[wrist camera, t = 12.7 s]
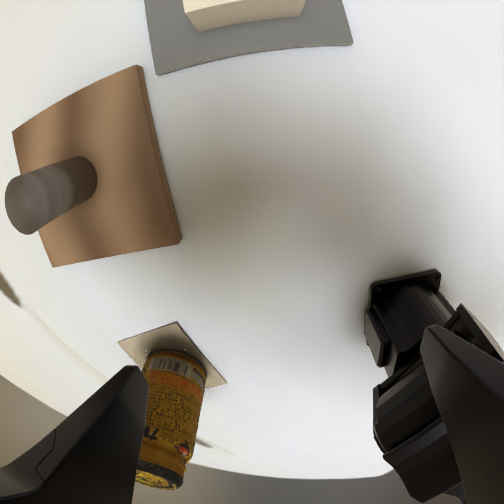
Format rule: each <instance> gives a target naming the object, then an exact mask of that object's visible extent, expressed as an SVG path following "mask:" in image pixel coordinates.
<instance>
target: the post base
mask: <svg viewBox="0 0 504 504" xmlns="http://www.w3.org/2000/svg"><path fill="white" fill-rule="evenodd" d="M12 135H13V141H14V146H15V151H16V156H17V160H18V165H19V169H20V173H21V175H20V176H17V177H15V178H13V179H12V180H11V181H10V182H9V184H8V186H7V188H6V192H5V207H6V211H7V215H8V217H9V219H10V221H11V223H12V225H13V226H14V227H15V228H16V229H17V230H18V231H19V232H21V233H23V234H26V235H29V234H32V233H34V232H36V231H37V230H38V232H39V235H40V237H41V240H42V243H43V245H44V248H45V250H46V253H47V255H48V258H49V260H50V262H51V265H52V267H58V266H63V265H68V264H73V263H79V262H84V261H89V260H94V259H99V258H105V257H110V256H115V255H120V254H126V253H131V252H137V251H142V250H148V249H153V248H159V247H165V246H170V245H176V244H179V242H180V241H181V239H182V236H181V232H180V229H179V225H178V222H177V218H176V215H175V211H174V207H173V204H172V200H171V196H170V192H169V188H168V184H167V180H166V176H165V172H164V168H163V164H162V160H161V156H160V152H159V147H158V143H157V139H156V134H155V130H154V125H153V120H152V116H151V111H150V106H149V101H148V96H147V90H146V85H145V80H144V74H143V68H142V67H141V66H138V65H134V66H132V67H129V68H127V69H124V70H122V71H119V72H117V73H115V74H112V75H110V76H108V77H106V78H103V79H101V80H99V81H97V82H95V83H93V84H91V85H89V86H87V87H85V88H83V89H81V90H79V91H77V92H75V93H73V94H71V95H69V96H67V97H66V98H64V99H62V100H60V101H59V102H57V103H55V104H53V105H52V106H50V107H48V108H47V109H45V110H44V111H42V112H40V113H39V114H37V115H36V116H34V117H33V118H31V119H30V120H28V121H27V122H25V123H24V124H22V125H21V126H19V127H18V128H17V129H15V130H14V131H12Z"/></svg>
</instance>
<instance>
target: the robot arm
mask: <svg viewBox="0 0 504 504" xmlns="http://www.w3.org/2000/svg"><path fill="white" fill-rule="evenodd" d="M435 275H436V277H435ZM440 280H441V273H440V272H439V271H438V270H431V271H427V272H422V273H418V274H413V275H408V276H403V277H399V278H394V279H389V280H384V281H378V282H375V283H373V284H372V285H371V286H370V292H369V308H367V309H366V311H365V325H364V335H365V337H366V342H367V345H368V346H369V347H370V349H371V352H372V354H373V357H374V360H375V362H376V365H377V366H378V367H379V368H381V367H385V370H386V372H387V375H388V377H389V378H387V379H386V380H385V381H384V382H383V383H381V384H378V385H377V386H376V387H375V388H373V433H374V439H375V441H376V442H377V445H378V446H379V448H380V450H381V451H382V452H383V453H384V454H383V459H384V460H385V461H386V462H388V463H389V464H390V465H391V466H392V467H393V468H394V469H395V470H396V472H397V473H398V474H399V476H400V477H401V479H402V481H403V482H404V484H405V486H406V488H407V490H408V492H409V494H410V496H411V497H413V498H414V499H416V500H417V501H419V502H421V503H425V502H427V501H429V500H431V499H433V498H435V497H437V496H439V495H441V494H444V495H448V496H451V497H455V498H457V499H458V500H459V501H460V503H461V504H504V352H503V351H502V349H501V347H500V346H499V344H498V343H497V342H496V340H495V339H494V338H493V337H492V335H491V334H490V333H489V332H488V330H487V329H486V328H485V327H484V326H483V324H482V323H481V322H480V321H479V320H478V319H477V318H476V317H475V316H474V315H473V314H472V313H471V312H470V311H469V310H468V309H467V308H466V307H465V306H464V305H463V304H462V303H461V304H460V305H459V306H458V308H457V309H456V310H457V311H455V310H454V308H453V307H452V306H451V305H450V303H449V302H448V301H447V300H446V299H445V297H444V296H443V295H442V294H441V293H440V291H439V286H440ZM377 287H378V289H377V290H375V289H376V288H377ZM148 391H149V385H148V381H147V380H146V378H145V376H144V375H143V373H142V372H141V370H140V368H139V367H138V366H136V365H127V366H124V367H123V368H122V369H121V370H120V371H119V372H118V373H117V374H115V375H114V376H113V377H112V378H111V379H110V380H109V381H108V382H106V383H105V384H104V385H103V386H102V387H101V388H100V389H99V390H97V391H96V392H95V393H94V394H93V395H92V396H91V397H90V398H88V399H87V400H86V401H85V402H84V403H83V404H82V405H81V406H79V407H78V408H77V409H76V410H75V411H74V412H73V413H72V414H70V415H69V416H68V417H67V418H66V419H65V420H64V421H63V422H61V423H60V424H59V425H58V426H57V427H56V429H53V430H52V431H51V432H50V433H49V434H48V435H47V436H46V437H44V438H43V439H42V440H41V441H40V442H38V443H37V444H36V445H34V446H33V447H32V448H30V449H29V450H28V451H26V452H25V453H24V454H22V455H21V456H19V457H18V458H17V459H15V460H14V461H12V462H11V463H9V464H8V465H6V466H3V467H0V504H132V497H133V490H134V484H135V478H136V472H137V466H138V460H139V455H140V449H141V444H142V439H143V434H144V428H145V421H146V410H147V400H148Z"/></svg>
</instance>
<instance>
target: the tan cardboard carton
mask: <svg viewBox="0 0 504 504" xmlns="http://www.w3.org/2000/svg"><path fill="white" fill-rule="evenodd" d="M305 2H306V0H183V5H184V11H185V14H186V15H187V17H188V18H189V19H190V21H191V22H192V23H193V25H194V26H195V27H196V29H197V30H198V32H202V31H206V30H211V29H215V28H220V27H224V26H229V25H235V24H240V23H246V22H253V21H260V20H267V19H276V18H287V17H300V14H301V12H302V9H303V7H304V4H305Z"/></svg>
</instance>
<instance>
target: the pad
mask: <svg viewBox="0 0 504 504" xmlns="http://www.w3.org/2000/svg"><path fill="white" fill-rule="evenodd" d="M144 2H145V10H146V17H147V24H148V31H149V37H150V43H151V50H152V55H153V61H154V67H155V72H156V75H163V74H166V73H169V72H172V71H176V70H179V69H182V68H186V67H190V66H193V65H197V64H201V63H205V62H210V61H214V60H218V59H223V58H228V57H233V56H238V55H244V54H250V53H256V52H263V51H270V50H278V49H287V48H298V47H312V46H341V45H352V44H353V39H352V35H351V31H350V28H349V24H348V20H347V17H346V13H345V10H344V7H343V3H342V0H306V2H305V4H304V7H303V9H302V12H301V14H300V17H287V18H276V19H267V20H260V21H253V22H246V23H240V24H235V25H229V26H224V27H220V28H215V29H211V30H206V31H202V32H198V30H197V29H196V27H195V26H194V25H193V23H192V22H191V21H190V19H189V18H188V17H187V15H186V14H185V11H184V5H183V0H144Z"/></svg>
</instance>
